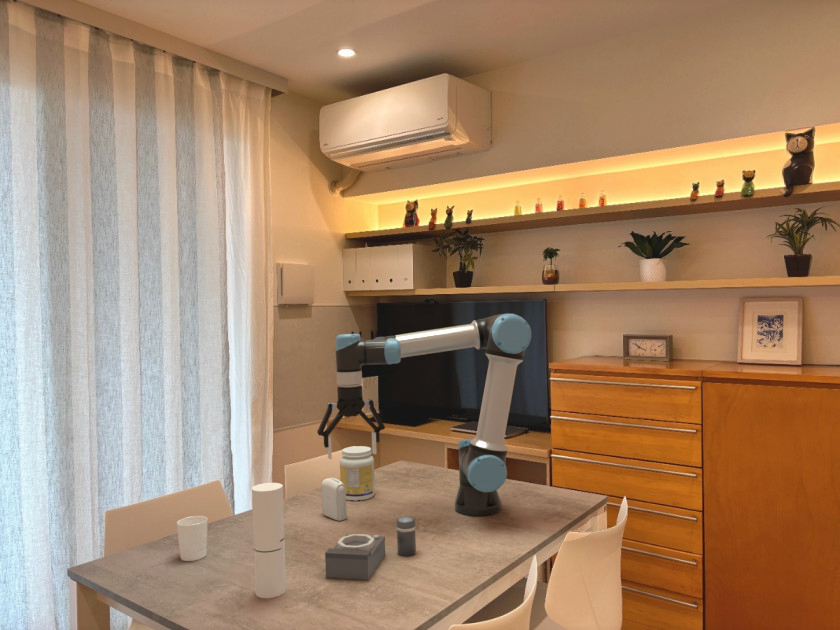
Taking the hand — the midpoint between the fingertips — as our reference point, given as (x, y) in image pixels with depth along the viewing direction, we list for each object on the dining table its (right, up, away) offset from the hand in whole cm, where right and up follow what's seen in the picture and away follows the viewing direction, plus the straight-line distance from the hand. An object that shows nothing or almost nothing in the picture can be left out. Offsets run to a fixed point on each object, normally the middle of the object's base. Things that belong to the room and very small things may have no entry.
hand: (352, 455), depth 188 cm
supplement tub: (-2, -23, +35) cm, 41 cm away
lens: (+17, -22, -18) cm, 33 cm away
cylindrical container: (-15, -24, -39) cm, 48 cm away
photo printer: (-7, -23, +13) cm, 28 cm away
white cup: (-42, -24, -16) cm, 51 cm away
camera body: (+4, -23, -26) cm, 35 cm away
